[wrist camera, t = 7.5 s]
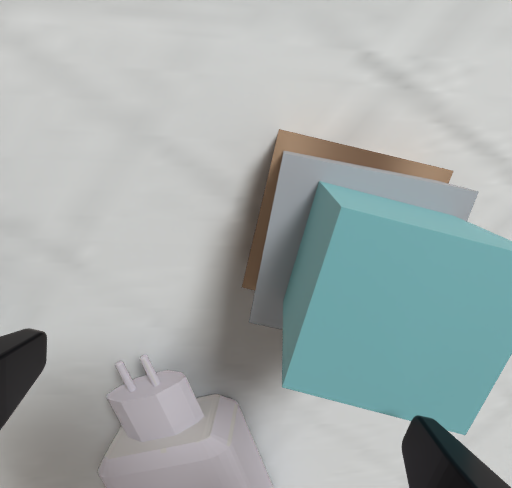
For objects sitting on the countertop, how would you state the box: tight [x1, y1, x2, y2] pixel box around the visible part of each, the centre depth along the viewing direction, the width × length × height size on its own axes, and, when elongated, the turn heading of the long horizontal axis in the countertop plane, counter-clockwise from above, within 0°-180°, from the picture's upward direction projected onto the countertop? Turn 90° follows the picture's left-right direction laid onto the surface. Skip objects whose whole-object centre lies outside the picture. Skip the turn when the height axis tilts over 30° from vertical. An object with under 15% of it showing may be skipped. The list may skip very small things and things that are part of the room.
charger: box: [97, 355, 274, 488], centre depth 23 cm, size 5×9×15 cm
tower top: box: [249, 151, 478, 330], centre depth 15 cm, size 7×7×4 cm
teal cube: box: [282, 181, 512, 435], centre depth 10 cm, size 5×5×5 cm
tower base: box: [242, 129, 453, 290], centre depth 18 cm, size 8×8×4 cm
